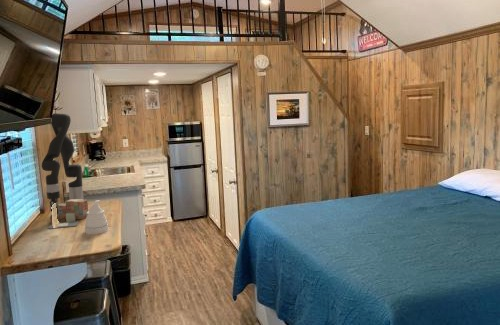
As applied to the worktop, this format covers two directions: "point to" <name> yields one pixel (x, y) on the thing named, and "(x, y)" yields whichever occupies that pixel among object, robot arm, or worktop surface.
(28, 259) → the worktop surface
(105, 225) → the white tiered cone
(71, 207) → the stack of blocks
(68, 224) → the slate board
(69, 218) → the sage cube
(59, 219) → the walnut cube
